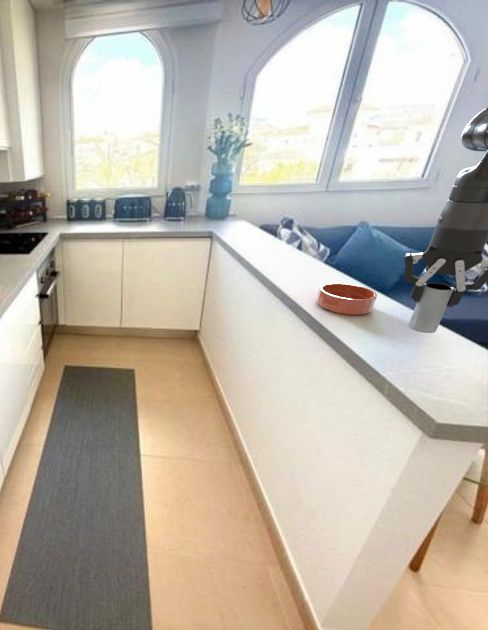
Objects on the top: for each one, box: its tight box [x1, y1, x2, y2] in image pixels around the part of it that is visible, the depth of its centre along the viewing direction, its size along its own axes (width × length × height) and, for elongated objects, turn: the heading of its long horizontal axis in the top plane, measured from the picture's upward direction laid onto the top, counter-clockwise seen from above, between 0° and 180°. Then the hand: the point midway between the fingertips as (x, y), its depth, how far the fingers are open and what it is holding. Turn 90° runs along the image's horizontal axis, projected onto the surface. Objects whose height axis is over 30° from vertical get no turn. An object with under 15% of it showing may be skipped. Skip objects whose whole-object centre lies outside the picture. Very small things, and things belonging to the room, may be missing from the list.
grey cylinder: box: [408, 282, 455, 334], centre depth 75 cm, size 4×4×10 cm
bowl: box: [315, 282, 378, 316], centre depth 101 cm, size 13×13×5 cm
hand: (432, 302), depth 74 cm, fingers closed on grey cylinder, 4 cm apart
